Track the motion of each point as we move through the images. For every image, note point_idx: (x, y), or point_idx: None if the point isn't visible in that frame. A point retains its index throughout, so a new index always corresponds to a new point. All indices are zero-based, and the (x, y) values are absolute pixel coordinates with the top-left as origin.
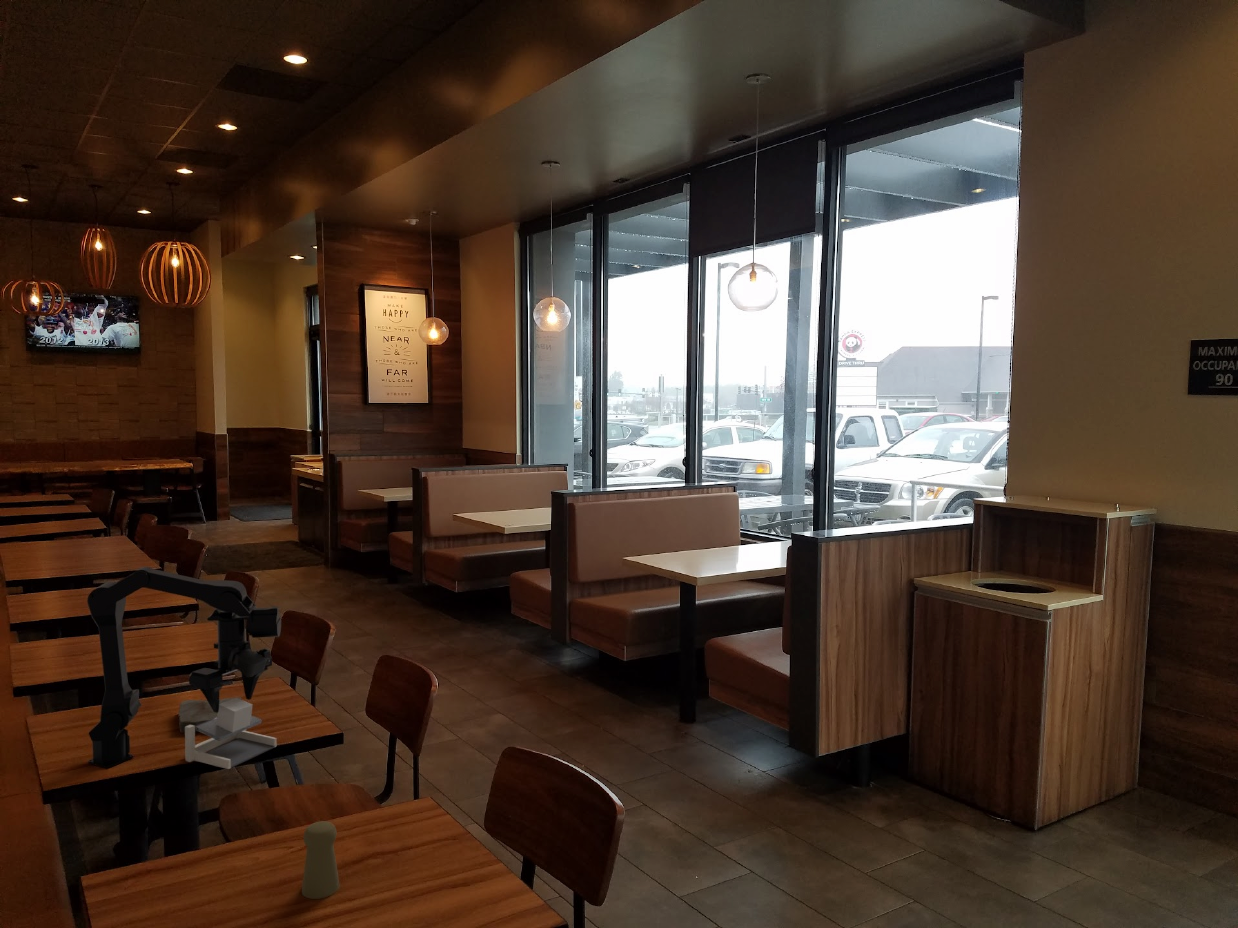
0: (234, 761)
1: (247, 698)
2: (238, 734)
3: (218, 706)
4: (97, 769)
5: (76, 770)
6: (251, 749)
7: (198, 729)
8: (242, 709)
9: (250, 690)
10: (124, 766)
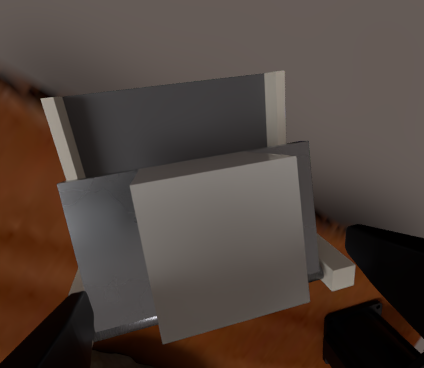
0: (231, 101)
1: (89, 310)
2: None
3: (386, 235)
4: (384, 307)
5: (397, 325)
6: (139, 141)
7: (315, 254)
8: (229, 165)
9: (58, 348)
10: (358, 288)
